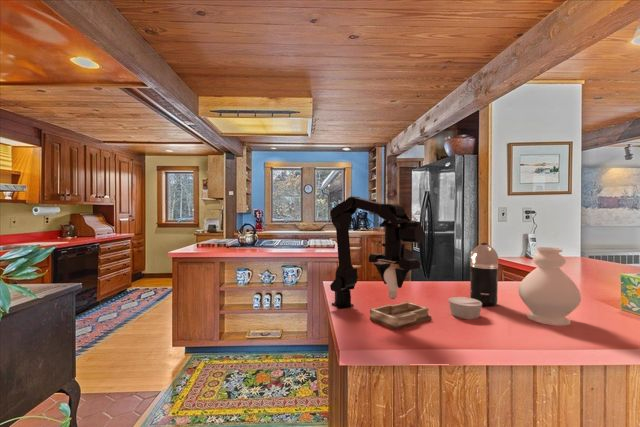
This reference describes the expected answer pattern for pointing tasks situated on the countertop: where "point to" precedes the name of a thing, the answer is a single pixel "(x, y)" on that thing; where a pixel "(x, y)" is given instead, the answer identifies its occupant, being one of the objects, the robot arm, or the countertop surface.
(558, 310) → the decorative vase
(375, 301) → the countertop surface
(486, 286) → the black copper bottle
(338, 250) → the robot arm
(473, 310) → the ramekin
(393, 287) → the lightbulb
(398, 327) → the wooden tray
